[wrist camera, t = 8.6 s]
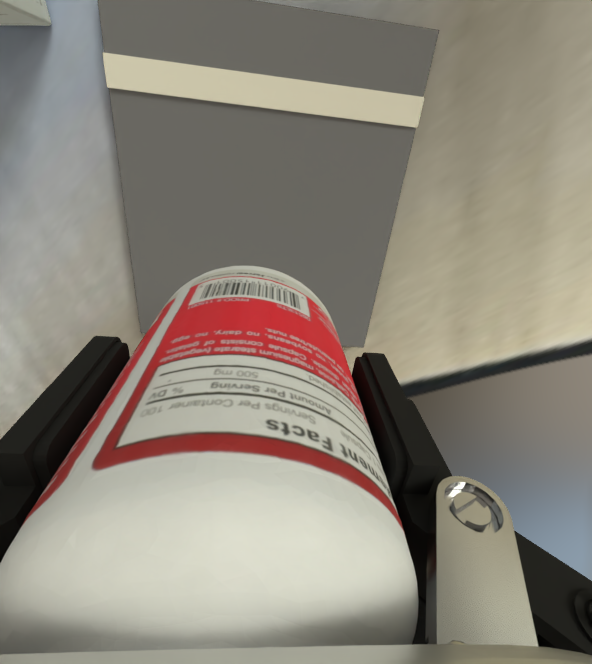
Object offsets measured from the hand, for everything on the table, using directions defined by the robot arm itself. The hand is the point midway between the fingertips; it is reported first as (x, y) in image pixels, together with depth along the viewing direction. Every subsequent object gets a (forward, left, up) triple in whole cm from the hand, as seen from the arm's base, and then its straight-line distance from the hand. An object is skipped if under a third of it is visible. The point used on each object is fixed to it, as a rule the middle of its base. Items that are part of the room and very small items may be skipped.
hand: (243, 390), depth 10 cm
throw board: (-3, 0, -12) cm, 12 cm away
